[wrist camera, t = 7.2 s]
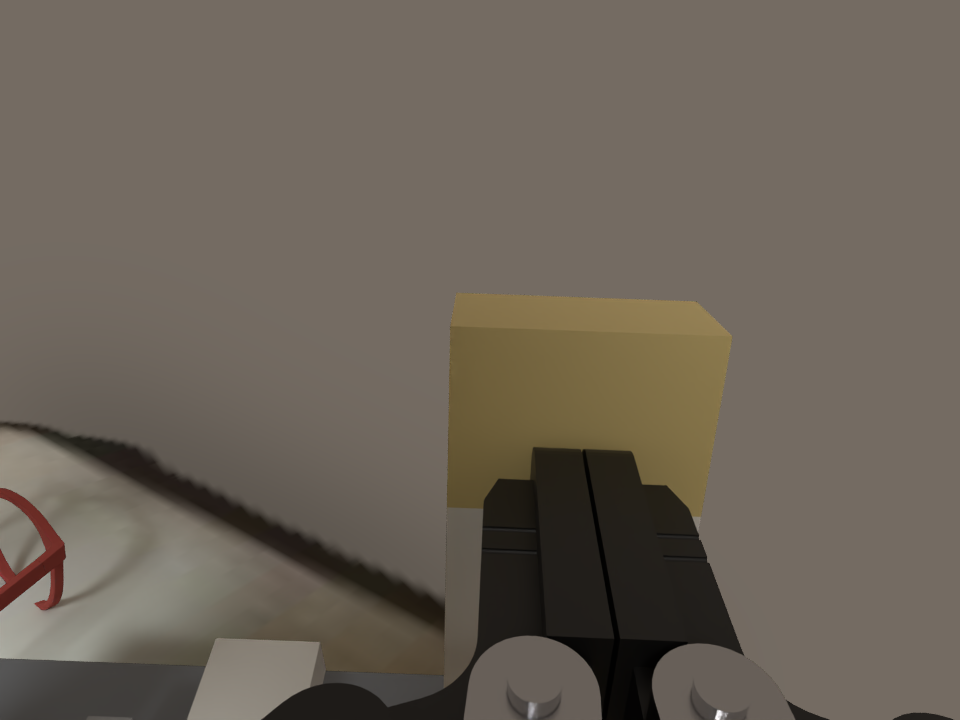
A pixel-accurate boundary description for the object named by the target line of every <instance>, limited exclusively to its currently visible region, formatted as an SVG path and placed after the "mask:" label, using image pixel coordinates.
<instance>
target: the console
mask: <svg viewBox="0 0 960 720" xmlns="http://www.w3.org/2000/svg"><path fill="white" fill-rule="evenodd" d="M326 683H347V684H352V685H356V686H360V687H362V688H364V689H366V690H369V691H370V692H372V693H373V694H375V695H376V696H377V697H379V698H380V699H381V700H382V702H383V703H384V704H385V705H386V706H387V707H390V706H394V705H398V704H401V703H405V702H409V701H413V700H416V699H420V698H423V697H426V696H429V695H432V694H434V693H436V692H438V691H440V690H442V689H444V675H421V674H394V673H368V672H342V671H326V667H325V662H324V658H323V653H322V648H321V644H320V642H307V641H281V640H255V639H228V638H216V640H215V642H214V645H213V648H212V651H211V654H210V656H209V659H208V662H207V665H206V666H185V665H159V664H133V663H106V662H80V661H54V660H28V659H2V658H0V720H261V719H263V718H264V717H265V716H266V715H267V714H269V713H270V712H271V711H272V710H274V709H275V708H276V707H277V706H279V705H280V704H281V703H282V702H284V701H285V700H287V699H288V698H290V697H291V696H292V695H294V694H296V693H298V692H300V691H302V690H304V689H307V688H310V687H313V686H316V685H321V684H326Z"/></svg>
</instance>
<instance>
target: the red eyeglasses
mask: <svg viewBox="0 0 960 720" xmlns="http://www.w3.org/2000/svg"><path fill="white" fill-rule="evenodd" d="M0 498H3V499H5V500H7V501H9V502H11V503H13V504H14V505H16V506H17V507H18V508H20V509H21V510H22V511H23V512H24V513H25V514H26V515H27V516H28V517H29V519H30V520H31V521H32V522H33V524H34V525H35V527H36V528H37V530H38V532H39V534H40V536H41V538H42V541H43V543H44V546H45V549H46V551H45V552H44V553H43V554H42V555H41V556H40V557H38V558H37V559H36V560H35V561H34V562H32V563H31V564H30V565H29V566H27V567H26V568H25V569H24V570H22V571H21V572H20V573H18V574H17V575H15V574H14V572H13V571H12V569H11V568H10V566H9V564H8V563H7V561H6V559H5V558H4V556H3V554H2V552H1V549H0V576H1V577H2V578H3V579H4V580H5V582H6V584H5V585H3V586H2V587H1V588H0V611H1V610H3V609H4V608H5V607H6V606H8V605H9V604H10V603H11V602H12V601H14V600H15V599H16V598H17V597H19V596H20V595H21V594H22V593H24V592H25V591H26V590H27V589H29V588H30V587H31V586H32V585H34V584H35V583H36V582H37V581H38V580H40V579H41V578H42V577H43V576H45V575H46V574H47V573H49V572H50V571H51V589H50V595H49V598H48V600H47V601H45V600H43V601H40V602H37V603H34V604H35V605H36V606H37V607H39V608H40V609H41V610H46V609H48V608H51V607H53V606H55V605H56V604H58V603H59V601H60V599H61V596H62V592H63V560H64V559H65V558H66V555H65V546H64V542H63V541H62V540H61V538H60V537H59V536H58V535H57V533H56V532H55V531H54V529H53V528H52V527H51V525H50V524H49V523H48V521H47V520H46V519H45V517H44V516H43V515H42V514H41V513H40V512H39V511H38V510H37V509H36V508H35V507H34V506H33V505H32V504H31V503H30V502H29V501H28V500H26V499H25V498H24V497H22V496H20V495H19V494H17V493H15V492H13V491H11V490H8V489H4V488H0Z"/></svg>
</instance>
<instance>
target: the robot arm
mask: <svg viewBox="0 0 960 720" xmlns="http://www.w3.org/2000/svg"><path fill="white" fill-rule="evenodd" d="M261 720H829V719H826V718H823V717H820V716H817V715H815V714H812V713H809V712H807V711H805V710H803V709H801V708H799V707H797V706H795V705H793V704H792V703H790V702H789V701H787V700H785V697H784V696H783V694H782V692H781V691H780V689H779V687H778V686H777V685H776V683H775V682H774V681H773V680H772V678H771V677H770V676H769V675H768V674H767V673H766V672H765V671H764V670H763V669H762V668H760V667H759V666H758V665H757V664H755V663H754V662H753V661H751V660H750V659H748V658H746V657H745V656H744V654H743V652H742V649H741V647H740V644H739V641H738V639H737V636H736V634H735V631H734V628H733V625H732V623H731V620H730V618H729V615H728V612H727V609H726V607H725V604H724V601H723V599H722V596H721V593H720V591H719V588H718V585H717V582H716V580H715V577H714V574H713V572H712V569H711V566H710V564H709V563H707V556H706V553H705V550H704V547H703V545H702V542H701V540H699V534H698V531H697V529H696V526H695V523H694V521H693V518H692V515H691V513H690V510H689V508H688V507H687V506H686V505H685V504H684V503H683V502H682V501H681V500H680V499H679V498H678V497H677V496H676V495H675V493H674V492H673V491H672V490H671V489H670V488H669V487H668V486H667V485H645V484H642V482H641V479H640V475H639V472H638V468H637V465H636V461H635V458H634V455H633V453H632V451H622V450H598V449H583V450H582V452H581V449H569V448H544V447H533V450H532V459H531V473H530V480H520V479H498V480H497V481H496V483H495V484H494V486H493V487H492V489H491V490H490V492H489V493H488V495H487V496H486V497H485V499H484V504H483V526H482V549H481V571H480V594H479V616H478V638H477V645H476V649H475V652H474V655H473V658H472V660H471V661H470V663H469V665H468V667H467V668H466V669H465V670H464V672H463V673H462V674H461V675H460V676H459V677H458V678H457V679H456V680H455V681H454V682H453V683H451V684H450V685H448V686H447V687H445V688H444V689H442V690H440V691H438V692H436V693H434V694H432V695H429V696H426V697H423V698H420V699H416V700H413V701H409V702H405V703H401V704H398V705H394V706H390V707H387V706H386V705H385V704H384V703H383V702H382V700H381V699H380V698H379V697H377V696H376V695H375V694H373V693H372V692H370V691H369V690H366V689H364V688H362V687H360V686H356V685H352V684H347V683H326V684H321V685H316V686H313V687H310V688H307V689H304V690H302V691H300V692H298V693H296V694H294V695H292V696H291V697H290V698H288V699H287V700H285V701H284V702H282V703H281V704H280V705H279V706H277V707H276V708H275V709H274V710H272V711H271V712H270V713H269V714H267V715H266V716H265V717H264V718H263V719H261ZM893 720H953V719H951V718H947V717H943V716H940V715H935V714H929V713H910V714H904V715H901V716H899V717H897V718H894V719H893Z"/></svg>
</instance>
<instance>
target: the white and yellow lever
mask: <svg viewBox="0 0 960 720" xmlns="http://www.w3.org/2000/svg"><path fill="white" fill-rule="evenodd" d="M731 342H732V336H731V335H730V334H729V333H728V332H727V331H726V330H725V329H724V328H723V327H722V326H721V325H720V324H719V323H718V322H717V321H716V320H715V319H714V318H713V317H712V316H711V315H710V314H709V313H708V312H707V311H706V310H705V309H704V308H703V307H702V306H701V305H699V304H698V303H697V302H693V301H666V300H638V299H611V298H583V297H582V298H581V297H554V296H529V295H501V294H473V293H456V299H455V304H454V310H453V315H452V320H451V327H450V374H449V427H448V429H449V430H448V482H447V536H446V588H445V641H444V688H445V687H447V686H448V685H450V684H451V683H453V682H454V681H455V680H456V679H457V678H458V677H459V676H460V675H461V674H462V673H463V672H464V670H465V669H466V668H467V667H468V665H469V663H470V661H471V660H472V658H473V655H474V652H475V649H476V645H477V638H478V616H479V594H480V571H481V549H482V526H483V504H484V499H485V497H486V496H487V495H488V493H489V492H490V490H491V489H492V487H493V486H494V484H495V483H496V481H497V480H498V479H520V480H530V473H531V459H532V450H533V447H544V448H569V449H581V452H582V450H583V449H598V450H622V451H632V453H633V455H634V458H635V461H636V465H637V468H638V472H639V475H640V479H641V482H642V484H645V485H667V486H668V487H669V488H670V489H671V490H672V491H673V492H674V493H675V495H676V496H677V497H678V498H679V499H680V500H681V501H682V502H683V503H684V504H685V505H686V506H687V507H688V508H689V510H690V513H691V515H692V518H693V521H694V523H695V526H696V529H697V531H699V525H700V519H701V513H702V508H703V502H704V496H705V491H706V485H707V479H708V473H709V468H710V462H711V456H712V450H713V444H714V439H715V434H716V428H717V422H718V416H719V410H720V405H721V399H722V393H723V388H724V382H725V376H726V370H727V365H728V359H729V354H730V347H731Z"/></svg>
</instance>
